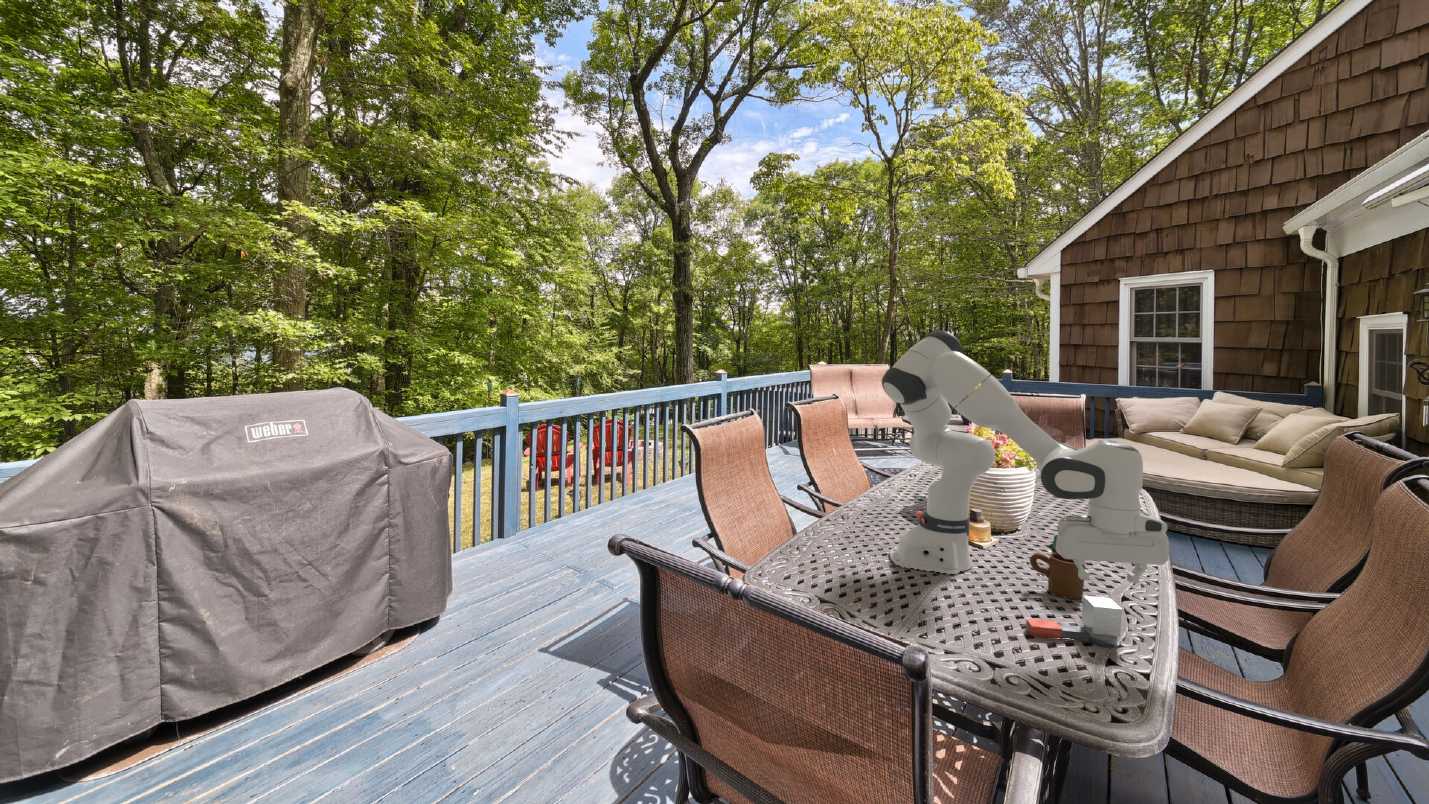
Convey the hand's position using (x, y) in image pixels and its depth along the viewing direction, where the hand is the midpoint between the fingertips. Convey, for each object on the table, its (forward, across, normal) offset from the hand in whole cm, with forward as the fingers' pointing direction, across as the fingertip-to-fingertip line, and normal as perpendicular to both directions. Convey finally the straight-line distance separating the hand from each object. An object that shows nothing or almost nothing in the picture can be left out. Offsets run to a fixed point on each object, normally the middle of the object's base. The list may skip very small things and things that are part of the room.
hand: (1107, 580), depth 116 cm
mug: (+14, 0, +23) cm, 27 cm away
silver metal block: (+11, -1, -1) cm, 11 cm away
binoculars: (+14, +11, +45) cm, 48 cm away
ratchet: (+13, -7, -1) cm, 15 cm away
